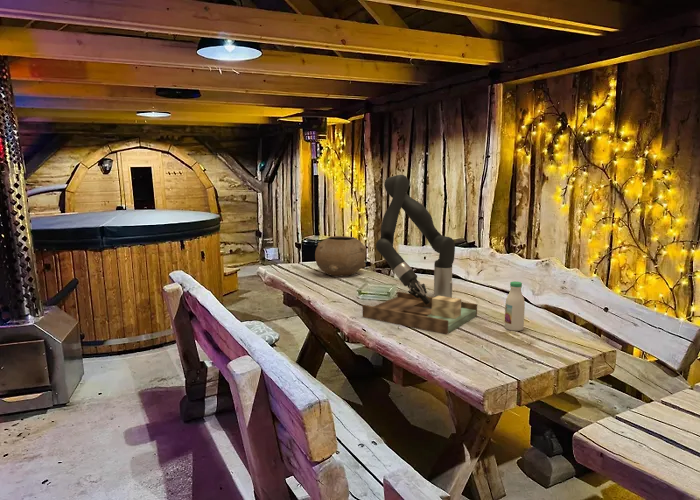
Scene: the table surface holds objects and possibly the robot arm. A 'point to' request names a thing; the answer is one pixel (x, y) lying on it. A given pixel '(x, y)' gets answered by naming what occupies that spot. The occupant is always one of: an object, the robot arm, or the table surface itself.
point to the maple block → (446, 307)
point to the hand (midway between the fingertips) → (428, 303)
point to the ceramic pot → (340, 255)
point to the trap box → (417, 313)
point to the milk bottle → (514, 308)
